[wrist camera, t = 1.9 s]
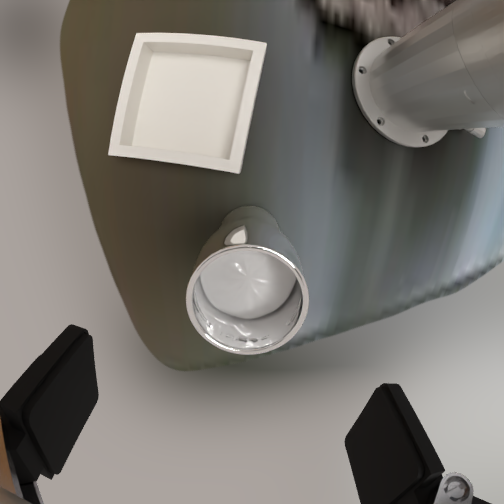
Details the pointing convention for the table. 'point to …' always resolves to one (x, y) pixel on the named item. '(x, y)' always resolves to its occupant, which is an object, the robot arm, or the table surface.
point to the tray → (188, 99)
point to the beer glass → (247, 285)
